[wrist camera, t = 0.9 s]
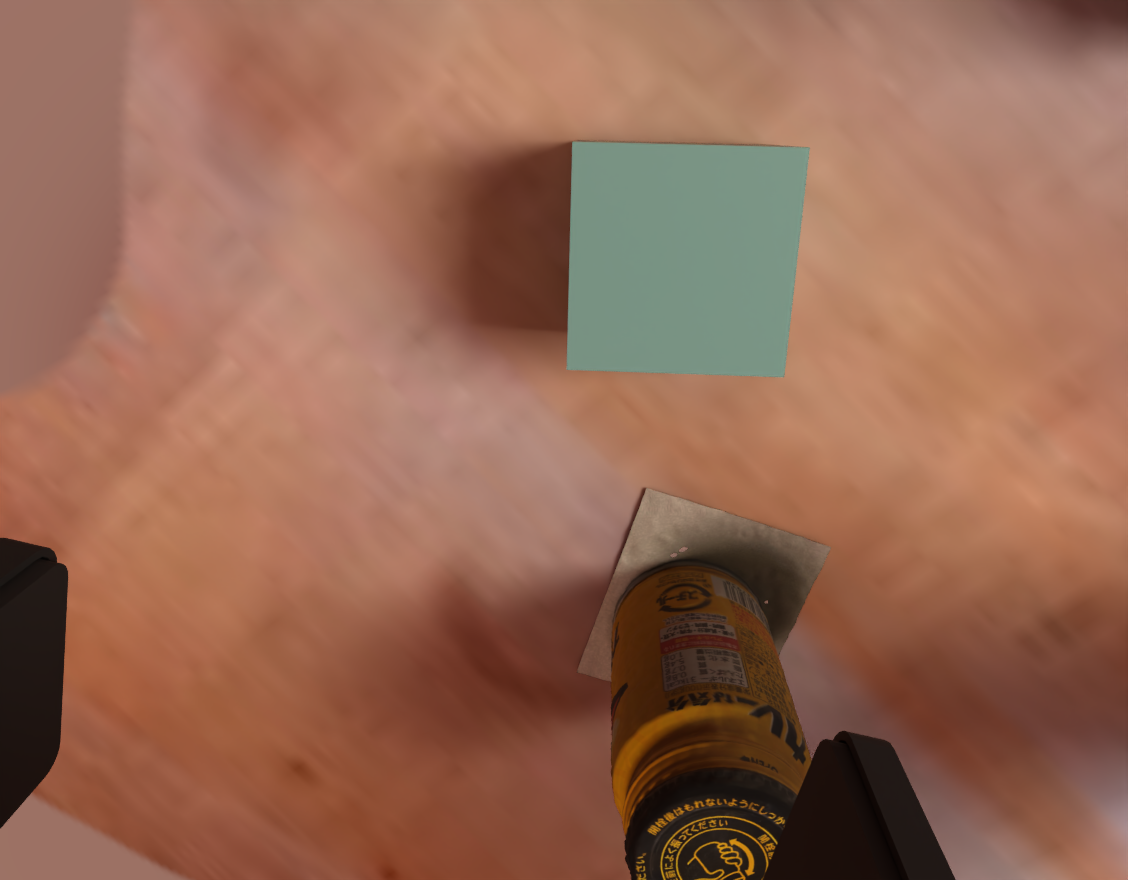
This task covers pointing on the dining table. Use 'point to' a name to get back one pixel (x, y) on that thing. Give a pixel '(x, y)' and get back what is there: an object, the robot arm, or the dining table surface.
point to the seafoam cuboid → (683, 256)
